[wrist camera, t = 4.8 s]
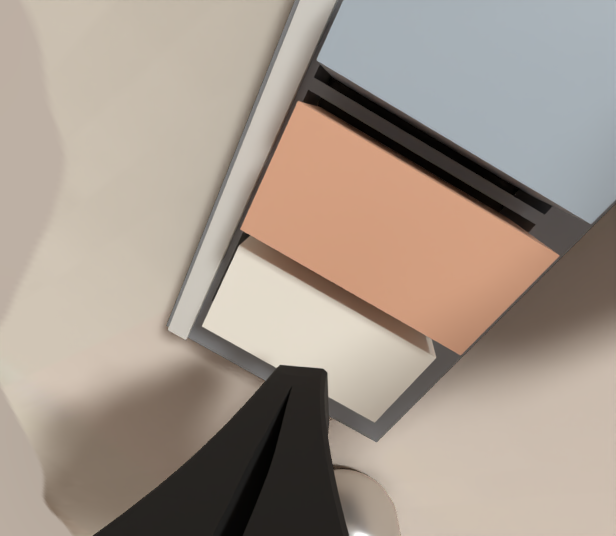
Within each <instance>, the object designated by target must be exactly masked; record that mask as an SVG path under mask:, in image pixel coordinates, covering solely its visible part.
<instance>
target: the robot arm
mask: <svg viewBox="0 0 616 536" xmlns="http://www.w3.org/2000/svg"><path fill="white" fill-rule="evenodd" d="M328 428H329V403H328V373H327V372H326V371H325V370H324V369H323V368H311V367H300V366H289V365H279V366H278V367H277V368H276V369H275V370H274V372H273V373H272V374H271V375H270V376H269V377H268V379H267V380H266V381H265V382H264V383H263V384H262V386H261V387H260V388H259V389H258V390H257V391H256V392H255V394H254V395H253V396H252V397H251V398H250V399H249V400H248V401H247V402H246V404H245V405H244V406H243V407H242V408H241V409H240V410H239V411H238V412H237V413H236V414H235V415H234V416H233V417H232V418H231V420H230V421H229V422H228V423H227V424H226V425H225V426H224V427H223V428H222V429H221V430H220V431H219V432H218V433H217V434H216V435H214V436H213V437H212V438H211V439H210V440H209V441H208V442H207V443H206V444H205V445H204V446H203V447H202V448H201V449H200V450H199V451H198V452H197V453H196V454H195V455H194V456H192V457H191V458H190V459H189V460H188V461H187V462H186V463H185V464H184V465H182V466H181V467H180V468H179V469H178V470H177V471H176V472H174V473H173V474H172V475H171V476H170V477H168V478H167V479H166V480H165V481H164V482H162V483H161V484H160V485H159V486H158V487H156V488H155V489H154V490H153V491H151V492H150V493H149V494H148V495H146V496H145V497H144V498H142V499H141V500H140V501H139V502H137V503H136V504H135V505H133V506H132V507H131V508H130V509H128V510H127V511H126V512H125V513H123V514H122V515H120V516H119V517H118V518H116V519H115V520H114V521H112V522H111V523H110V524H108V525H107V526H106V527H104V528H103V529H101V530H100V531H99V532H97V533H96V534H94V535H93V536H349V533H348V529H347V525H346V522H345V518H344V514H343V510H342V506H341V501H340V497H339V493H338V489H337V484H336V479H335V475H334V469H333V464H332V459H331V453H330V447H329V441H328Z"/></svg>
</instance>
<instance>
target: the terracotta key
mask: <svg viewBox="0 0 616 536" xmlns="http://www.w3.org/2000/svg"><path fill="white" fill-rule="evenodd" d="M240 230H242V231H244V232H245V233H247V234H249V235H251V236H252V237H254V238H256V239H258V240H259V241H261V242H263V243H265V244H266V245H268V246H270V247H272V248H273V249H275V250H277V251H279V252H280V253H282V254H284V255H286V256H287V257H289V258H291V259H293V260H294V261H296V262H298V263H300V264H301V265H303V266H305V267H307V268H308V269H310V270H312V271H314V272H315V273H317V274H319V275H321V276H322V277H324V278H326V279H328V280H329V281H331V282H333V283H335V284H336V285H338V286H340V287H342V288H343V289H345V290H347V291H349V292H350V293H352V294H354V295H356V296H357V297H359V298H361V299H363V300H364V301H366V302H368V303H370V304H371V305H373V306H375V307H377V308H378V309H380V310H382V311H384V312H386V313H387V314H389V315H391V316H393V317H394V318H396V319H398V320H400V321H401V322H403V323H405V324H407V325H408V326H410V327H412V328H414V329H415V330H417V331H419V332H421V333H422V334H424V335H426V336H428V337H429V338H431V339H433V340H435V341H436V342H438V343H440V344H442V345H443V346H445V347H447V348H449V349H450V350H452V351H454V352H456V353H457V354H459V355H462V354H463V353H464V352H465V351H466V350H467V349H468V348H469V347H470V346H471V345H472V344H473V343H474V342H475V341H476V340H477V339H478V338H479V336H480V335H481V334H482V333H483V332H484V331H485V330H486V329H487V328H488V327H489V326H490V325H491V324H492V323H493V322H494V321H495V320H496V319H497V318H498V317H499V316H500V315H501V314H502V313H503V312H504V311H505V310H506V309H507V308H508V307H509V306H510V305H511V304H512V303H513V302H514V301H515V300H516V299H517V298H518V297H519V296H520V295H521V294H522V293H523V292H524V291H525V290H526V289H527V288H528V287H529V286H530V285H531V284H532V283H533V282H534V281H535V280H536V279H537V278H538V277H539V276H540V275H541V274H542V273H543V272H544V271H545V270H546V269H547V268H548V267H549V266H550V265H551V264H552V263H553V262H554V261H555V260H556V259H557V258H558V257H559V256H560V255H558V254H557V253H556V252H554V251H553V250H551V249H550V248H549V247H547V246H546V245H545V244H543V243H542V242H540V241H539V240H538V239H536V238H535V237H534V236H532V235H531V234H529V233H528V232H527V231H525V230H524V229H523V228H521V227H520V226H518V225H517V224H516V223H514V222H513V221H512V220H510V219H509V218H507V217H505V216H504V215H502V214H500V213H499V212H497V211H495V210H494V209H492V208H490V207H489V206H487V205H485V204H483V203H482V202H480V201H478V200H477V199H475V198H473V197H472V196H470V195H468V194H467V193H465V192H463V191H461V190H460V189H458V188H456V187H455V186H453V185H451V184H450V183H448V182H446V181H445V180H443V179H441V178H440V177H438V176H436V175H434V174H433V173H431V172H429V171H428V170H426V169H424V168H423V167H421V166H419V165H418V164H416V163H414V162H412V161H411V160H409V159H407V158H406V157H404V156H402V155H401V154H399V153H397V152H396V151H394V150H392V149H391V148H389V147H387V146H385V145H384V144H382V143H380V142H379V141H377V140H375V139H374V138H372V137H370V136H369V135H367V134H365V133H363V132H362V131H360V130H358V129H357V128H355V127H353V126H352V125H350V124H348V123H347V122H345V121H343V120H342V119H340V118H338V117H336V116H335V115H333V114H331V113H330V112H328V111H326V110H325V109H323V108H321V107H318V106H315V105H311V104H307V103H304V102H300V101H298V102H297V104H296V106H295V108H294V111H293V113H292V115H291V117H290V120H289V122H288V124H287V126H286V128H285V131H284V133H283V135H282V137H281V140H280V142H279V144H278V146H277V148H276V151H275V153H274V155H273V157H272V159H271V162H270V164H269V166H268V168H267V171H266V173H265V175H264V177H263V179H262V182H261V184H260V186H259V188H258V191H257V193H256V195H255V197H254V199H253V202H252V204H251V206H250V208H249V210H248V213H247V215H246V217H245V219H244V222H243V224H242V226H241V228H240Z"/></svg>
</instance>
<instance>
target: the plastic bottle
mask: <svg viewBox="0 0 616 536" xmlns="http://www.w3.org/2000/svg"><path fill="white" fill-rule="evenodd" d="M334 475H335V479H336V484H337V489H338V493H339V497H340V501H341V506H342V510H343V514H344V518H345V522H346V525H347V529H348V533H349V536H401V533H400V528H399V523H398V518H397V513H396V509H395V506H394V504H393V502H392V500H391V498H390V497H389V495H388V494H387V492H386V491H385V489H384V488H383V487H382V486H381V485H380V484H379V483H378V482H377V481H376V480H374V479H373V478H371V477H369V476H368V475H365V474H363V473H360V472H357V471H353V470H346V469H336V470H334Z"/></svg>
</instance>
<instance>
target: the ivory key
mask: <svg viewBox="0 0 616 536" xmlns="http://www.w3.org/2000/svg"><path fill="white" fill-rule="evenodd" d="M202 327H204V328H206V329H207V330H209V331H211V332H213V333H215V334H216V335H218V336H220V337H222V338H224V339H225V340H227V341H229V342H231V343H233V344H234V345H236V346H238V347H240V348H242V349H243V350H245V351H247V352H249V353H251V354H252V355H254V356H256V357H258V358H260V359H261V360H263V361H265V362H267V363H268V364H270V365H272V366H274V367H276V368H277V367H278V366H279V365H289V366H300V367H311V368H323V369H324V370H325V371H326V372H327V373H328V397H330V398H331V399H333V400H335V401H337V402H339V403H340V404H342V405H344V406H346V407H348V408H349V409H351V410H353V411H355V412H356V413H358V414H360V415H362V416H364V417H365V418H367V419H369V420H371V421H373V422H374V423H375V422H376V421H377V420H378V419H379V418H380V417H381V415H382V414H383V413H384V412H385V411H386V410H387V409H388V408H389V407H390V406H391V405H392V404H393V403H394V402H395V401H396V400H397V399H398V398H399V397H400V395H401V394H402V393H403V392H404V391H405V390H406V389H407V388H408V387H409V386H410V385H411V384H412V383H413V382H414V381H415V380H416V379H417V378H418V377H419V376H420V374H421V373H422V372H423V371H424V370H425V369H426V368H427V367H428V366H429V365H430V364H431V363H432V362H433V361H434V360H435V359H436V355H435V351H434V347H433V343H432V339H431V338H429V337H428V336H426V335H424V334H422V333H421V332H419V331H417V330H415V329H414V328H412V327H410V326H408V325H407V324H405V323H403V322H401V321H400V320H398V319H396V318H394V317H393V316H391V315H389V314H387V313H386V312H384V311H382V310H380V309H378V308H377V307H375V306H373V305H371V304H370V303H368V302H366V301H364V300H363V299H361V298H359V297H357V296H356V295H354V294H352V293H350V292H349V291H347V290H345V289H343V288H342V287H340V286H338V285H336V284H335V283H333V282H331V281H329V280H328V279H326V278H324V277H322V276H321V275H319V274H317V273H315V272H314V271H312V270H310V269H308V268H307V267H305V266H303V265H301V264H300V263H298V262H296V261H294V260H293V259H291V258H289V257H287V256H286V255H284V254H282V253H280V252H279V251H277V250H275V249H273V248H272V247H270V246H268V245H266V244H265V243H263V242H261V241H259V240H258V239H256V238H254V237H252V236H251V235H250V236H249V237H248V238H247V239H246V240H245V241H244V242H243V243H241V244H240V245H239V247H238V249H237V251H236V253H235V255H234V258H233V260H232V262H231V264H230V266H229V268H228V271H227V273H226V275H225V277H224V279H223V281H222V284H221V286H220V288H219V290H218V292H217V294H216V297H215V299H214V301H213V303H212V305H211V307H210V310H209V312H208V314H207V316H206V318H205V320H204V323H203V325H202Z"/></svg>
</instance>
